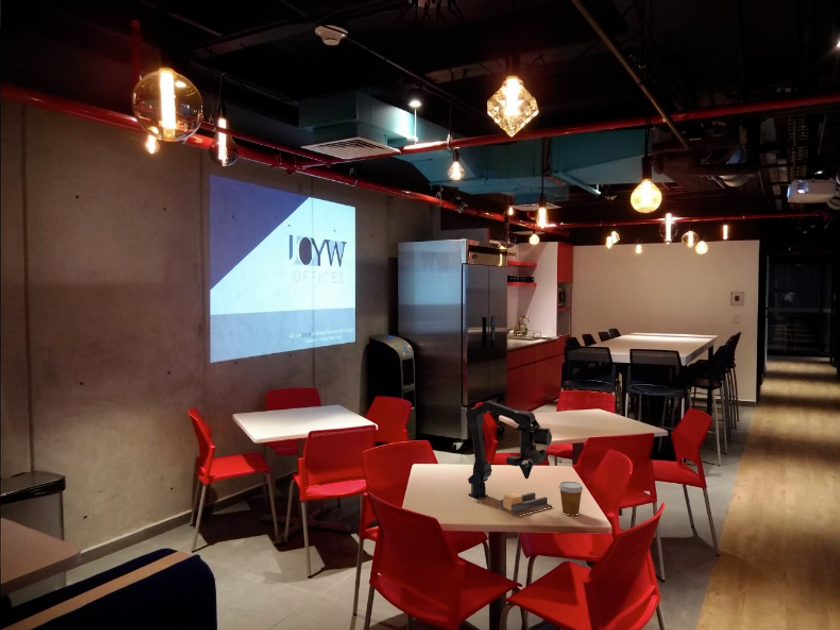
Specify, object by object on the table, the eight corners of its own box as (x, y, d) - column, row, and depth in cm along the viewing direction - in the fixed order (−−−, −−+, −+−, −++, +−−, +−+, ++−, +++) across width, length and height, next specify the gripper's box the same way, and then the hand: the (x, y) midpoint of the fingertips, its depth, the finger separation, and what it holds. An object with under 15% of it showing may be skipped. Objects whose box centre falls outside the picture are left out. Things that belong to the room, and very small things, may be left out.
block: (503, 507, 245) (503, 495, 245) (513, 504, 249) (514, 492, 249) (511, 510, 241) (511, 498, 241) (522, 508, 245) (522, 496, 244)
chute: (495, 506, 249) (495, 498, 249) (528, 498, 260) (528, 490, 259) (518, 516, 237) (518, 508, 237) (551, 507, 248) (551, 499, 248)
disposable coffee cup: (585, 512, 242) (586, 483, 242) (578, 519, 235) (578, 489, 234) (563, 507, 248) (563, 479, 248) (555, 514, 240) (555, 485, 240)
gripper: (523, 448, 237) (523, 487, 237) (556, 442, 247) (556, 479, 248) (505, 443, 246) (505, 480, 247) (537, 437, 257) (537, 473, 257)
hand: (526, 478), depth 249 cm, fingers closed
